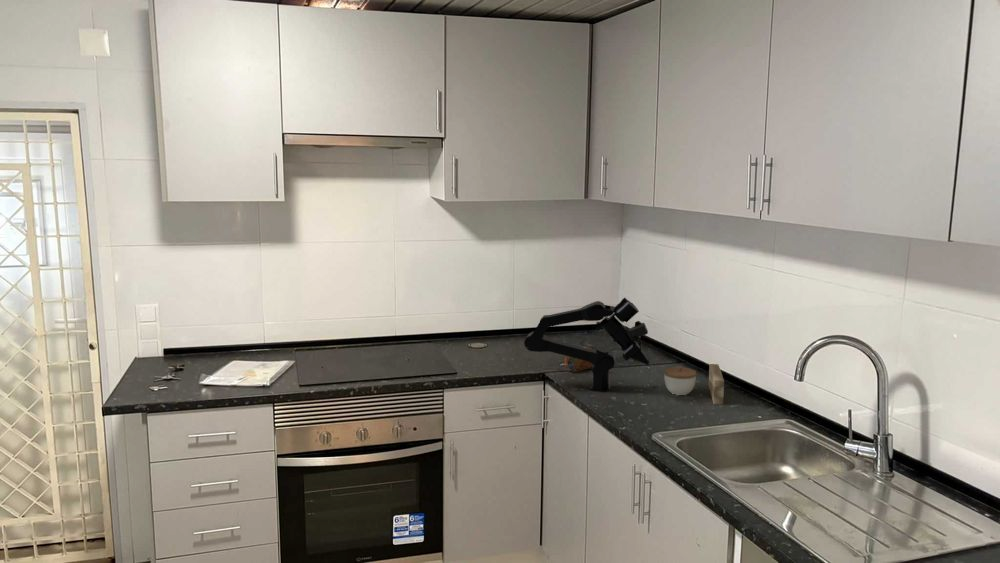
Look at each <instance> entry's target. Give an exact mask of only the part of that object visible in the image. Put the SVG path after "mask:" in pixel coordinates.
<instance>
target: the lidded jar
mask: <svg viewBox="0 0 1000 563" xmlns="http://www.w3.org/2000/svg"><path fill="white" fill-rule="evenodd" d="M663 374H664V377H663V378H664V384H665V387H666V389H667V390H668V391H669V392H671V393H672V394H671V393H670V394H671V395H673V394H676V395H675V396H678V395H684V396H688V395H689V394H690V393H691V392H692V391H693V389H694V388H695V385H696V381H697V380H696V379H697V371H696V370H694V369H692V368H689V367H685V366H684V367H683V366H682V365H680V366H671V367H667V368H665V369H664V371H663ZM687 394H688V395H687Z"/></svg>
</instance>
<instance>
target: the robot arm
mask: <svg viewBox="0 0 1000 563" xmlns="http://www.w3.org/2000/svg"><path fill="white" fill-rule="evenodd" d="M638 313H639V309H638V308H637V307H636V305H635V304H634V303H633V302H631V301H630V300H629V299H627V297H623V298H622V299H621V300H620V301H619V303H617V305H615V306H614V305H607V304H605V303H604V302H602V301H600V300H596V301H594V302H591V303H589V304H588V303H587V304H586V305H584V306H582V307H580V308H576V309H571V310H567V311H562V312H557V313H553V314H552V313H551V314H544V315H542V317H541V318H540V319H539V322H538V324H537V326H536V328H535V329H534V330H533V331H531V332H529V333H528V335H526V337H525V340H524V347H525V349H526V350H528V352H535V353H537V352H538V353H543V352H545V353H547V352H549V353H554V354H559V355H562V356H564V357H565V356H569V357H573V358H577V359H581V360H584V361H588V362H590V363H591V364H593V366H592V367H591V371H592V385H591V386H589V387H588V390H591V391H597V392H604V393H605V392H606V393H607V391H608V392H609V390H611V389H612V388H613V385H610V370H611V369H613V367H614V366H615V365H616V354H615V352H614V351H612V350H610V349H609V347H603V346H600V345H597V346H596V348H593V349H587V348H583V347H584V346H579V345H576V344H575V345H574V344H571V343H567V342H563V341H559V340H554V339H552V338H550V337H549V336H547V335H545V333H546V332H547V331H548V329H549V328H551V327H555V326H560V325H567V324H570V323H575V322H579V321H581V322H582V321H585V322H594V321H595V322H596V331H597V332H599V331H600V330H601V329H603V330H604V331H605V332H606V333H607V334H608V336H610V337H611V338H612V341H613V342H614V343H616V344H617V345H619V347H620V350H621V351H622V358H623V359H624V360H625V361H629V360H630V359H632V360H635V361H637V362H640V363H642V364H644V365H647V366H648V365H649V364H650V361H649V359H648V357H647V356H646V354H645V352H644V350H643V349H642V341H639V342H637V340H641V337H642V336H646V335H648V334H649V332H648V328H647V326H646V324H645V322H641V321H639V320H637V321H635V322H634V326H632V327H628V326H626V325H625V326H624V325H623V323H624V322H626V323H628V322H629V321H630V320H631V319H632V318H633V317H635V315H636V314H638Z"/></svg>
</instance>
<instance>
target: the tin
mask: <svg viewBox="0 0 1000 563" xmlns="http://www.w3.org/2000/svg"><path fill="white" fill-rule="evenodd" d="M582 347H583V348H587V349H594V348H592V347H591V346H582ZM563 360H564V367H565V370H567V371H569V372H573V373H577V372H581V371H584V370H587V369H592V367H593V364H591V363H590V362H588V361H584V360H581V359H577V358H573V357H569V356H565V355H564V358H563Z"/></svg>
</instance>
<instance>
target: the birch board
mask: <svg viewBox="0 0 1000 563" xmlns="http://www.w3.org/2000/svg"><path fill="white" fill-rule="evenodd" d="M708 388H709V392H710V396H711V399H712V402H713V405H724V393H725V392H724V391H725V390H724V389H725V380H724V377H723V373H722V371H721V368H720V365H719V364H718V363H709V369H708Z"/></svg>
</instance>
